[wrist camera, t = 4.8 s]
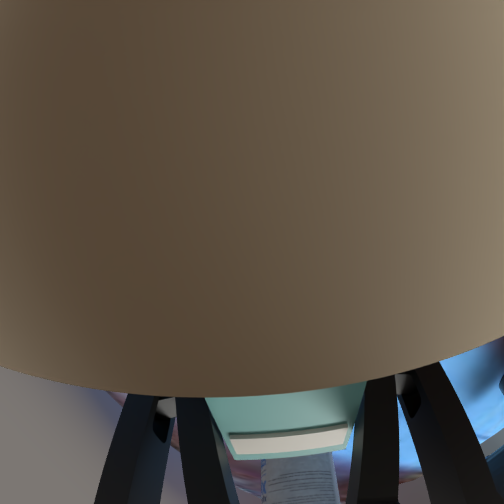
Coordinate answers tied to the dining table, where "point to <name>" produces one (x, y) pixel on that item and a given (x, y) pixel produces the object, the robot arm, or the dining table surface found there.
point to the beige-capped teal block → (288, 422)
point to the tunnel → (248, 191)
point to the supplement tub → (299, 480)
